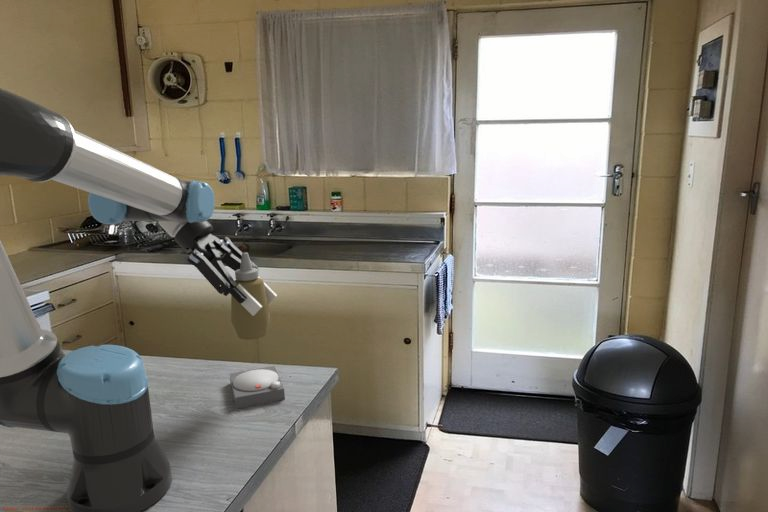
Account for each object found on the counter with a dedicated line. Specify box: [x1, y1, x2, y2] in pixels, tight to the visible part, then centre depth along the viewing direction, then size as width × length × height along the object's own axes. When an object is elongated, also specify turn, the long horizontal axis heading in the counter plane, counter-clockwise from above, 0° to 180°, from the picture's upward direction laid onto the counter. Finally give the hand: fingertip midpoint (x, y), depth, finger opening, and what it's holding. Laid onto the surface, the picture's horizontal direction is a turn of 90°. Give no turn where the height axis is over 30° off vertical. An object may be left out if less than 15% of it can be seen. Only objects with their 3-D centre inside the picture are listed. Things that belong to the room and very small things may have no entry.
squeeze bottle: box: [230, 252, 271, 341], centre depth 118 cm, size 8×8×18 cm
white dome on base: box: [229, 365, 286, 409], centre depth 123 cm, size 12×10×3 cm
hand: (265, 305), depth 118 cm, fingers closed on squeeze bottle, 6 cm apart
